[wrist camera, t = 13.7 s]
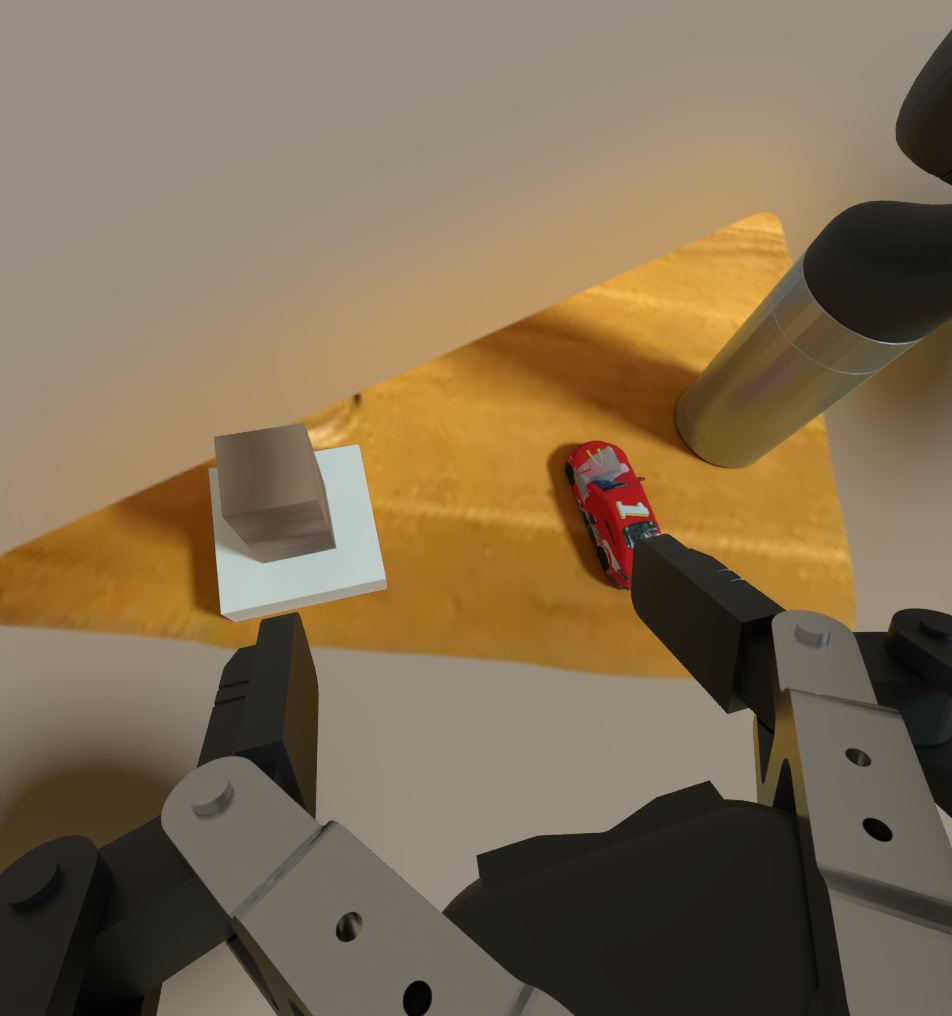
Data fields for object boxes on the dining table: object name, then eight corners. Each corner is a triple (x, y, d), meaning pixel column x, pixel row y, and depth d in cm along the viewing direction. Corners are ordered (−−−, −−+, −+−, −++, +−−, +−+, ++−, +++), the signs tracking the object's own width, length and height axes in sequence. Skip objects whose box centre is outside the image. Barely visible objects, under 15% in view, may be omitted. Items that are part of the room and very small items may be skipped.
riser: (361, 461, 43) (358, 444, 41) (387, 588, 40) (385, 578, 37) (221, 485, 41) (208, 468, 38) (234, 622, 37) (221, 614, 35)
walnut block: (325, 486, 39) (304, 423, 31) (336, 548, 37) (317, 499, 29) (255, 498, 38) (213, 437, 30) (263, 563, 36) (222, 517, 28)
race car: (555, 455, 46) (568, 432, 43) (610, 444, 48) (627, 421, 44) (606, 597, 42) (625, 585, 38) (666, 582, 43) (690, 568, 39)
